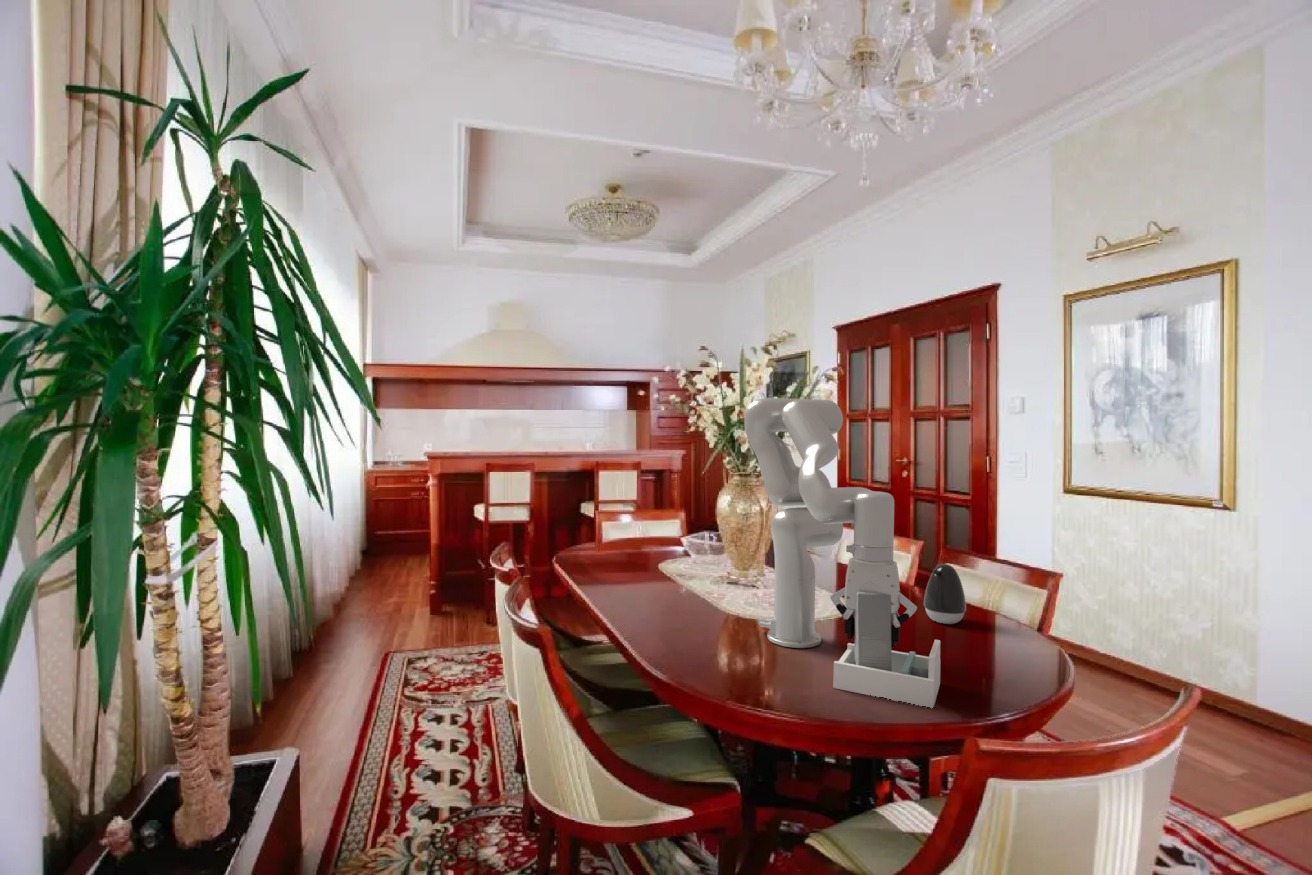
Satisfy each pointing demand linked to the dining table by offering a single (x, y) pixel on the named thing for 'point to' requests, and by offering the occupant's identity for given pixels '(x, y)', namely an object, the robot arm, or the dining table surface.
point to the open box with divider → (891, 677)
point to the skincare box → (873, 630)
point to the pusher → (913, 667)
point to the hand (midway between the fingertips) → (871, 640)
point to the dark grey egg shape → (945, 596)
